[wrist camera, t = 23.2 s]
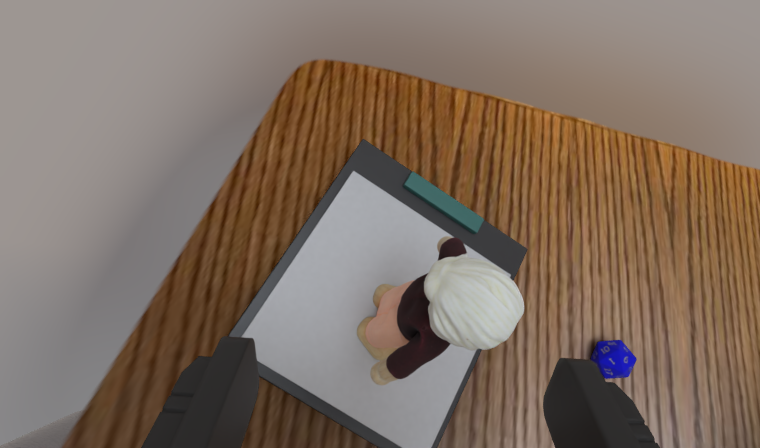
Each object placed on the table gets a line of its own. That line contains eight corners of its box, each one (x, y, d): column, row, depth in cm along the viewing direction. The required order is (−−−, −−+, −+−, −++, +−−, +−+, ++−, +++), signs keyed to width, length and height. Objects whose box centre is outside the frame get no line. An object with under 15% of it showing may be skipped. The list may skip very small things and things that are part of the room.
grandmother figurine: (401, 386, 24) (527, 446, 12) (340, 366, 24) (409, 410, 12) (435, 263, 26) (568, 213, 15) (379, 242, 26) (471, 173, 14)
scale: (222, 348, 25) (215, 352, 22) (356, 152, 30) (365, 133, 27) (411, 462, 26) (429, 480, 23) (509, 254, 32) (534, 247, 29)
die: (620, 359, 32) (641, 387, 29) (585, 362, 32) (602, 390, 29) (622, 329, 31) (644, 355, 28) (586, 332, 31) (604, 358, 29)
